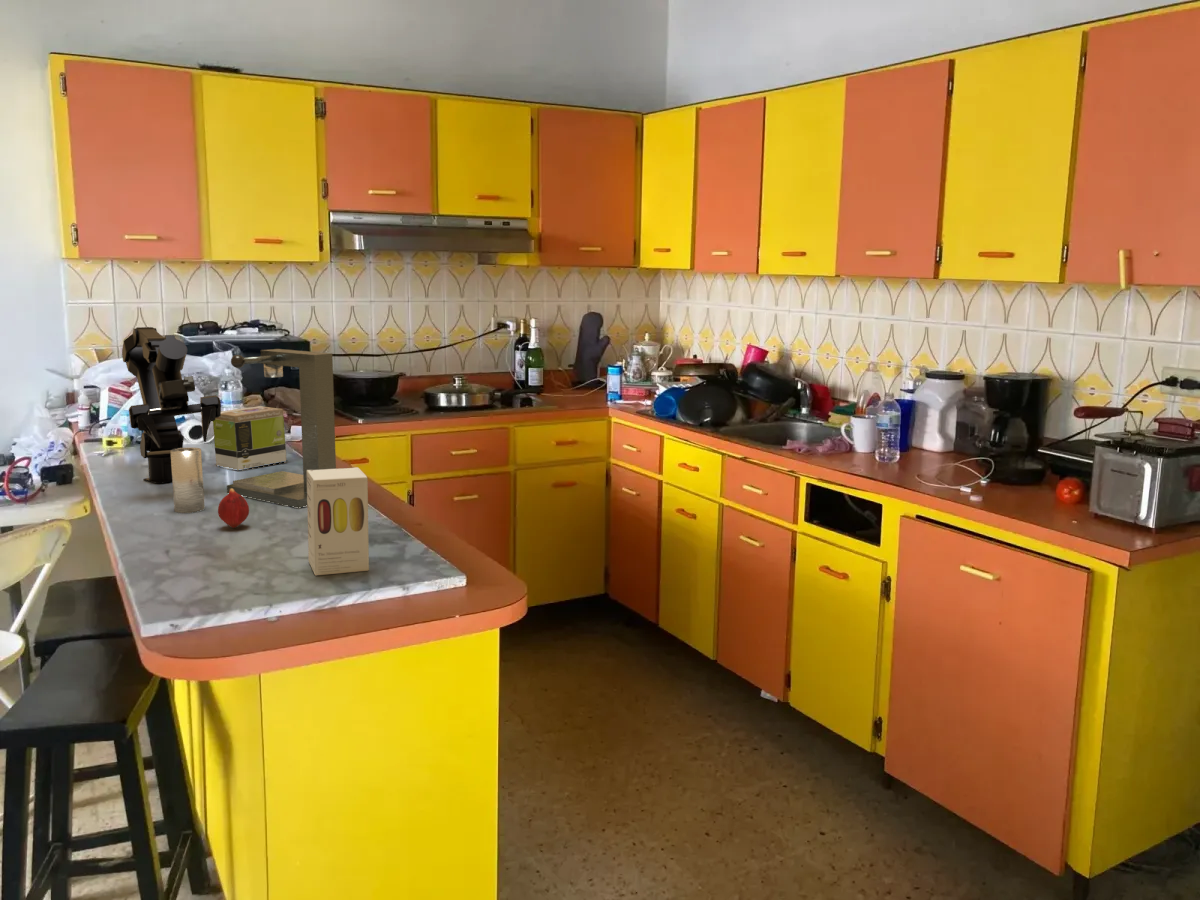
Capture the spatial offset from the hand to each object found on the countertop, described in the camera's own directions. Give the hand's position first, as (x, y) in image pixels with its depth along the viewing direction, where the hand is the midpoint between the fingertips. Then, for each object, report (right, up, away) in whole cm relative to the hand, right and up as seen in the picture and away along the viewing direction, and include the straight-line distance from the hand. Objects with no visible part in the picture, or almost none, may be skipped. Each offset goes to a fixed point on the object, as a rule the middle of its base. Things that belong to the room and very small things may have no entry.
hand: (183, 444), depth 216 cm
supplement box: (+46, -22, -43) cm, 66 cm away
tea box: (0, -5, +42) cm, 43 cm away
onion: (+18, -17, -19) cm, 32 cm away
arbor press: (+19, -12, +7) cm, 24 cm away
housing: (+4, -14, -5) cm, 16 cm away
